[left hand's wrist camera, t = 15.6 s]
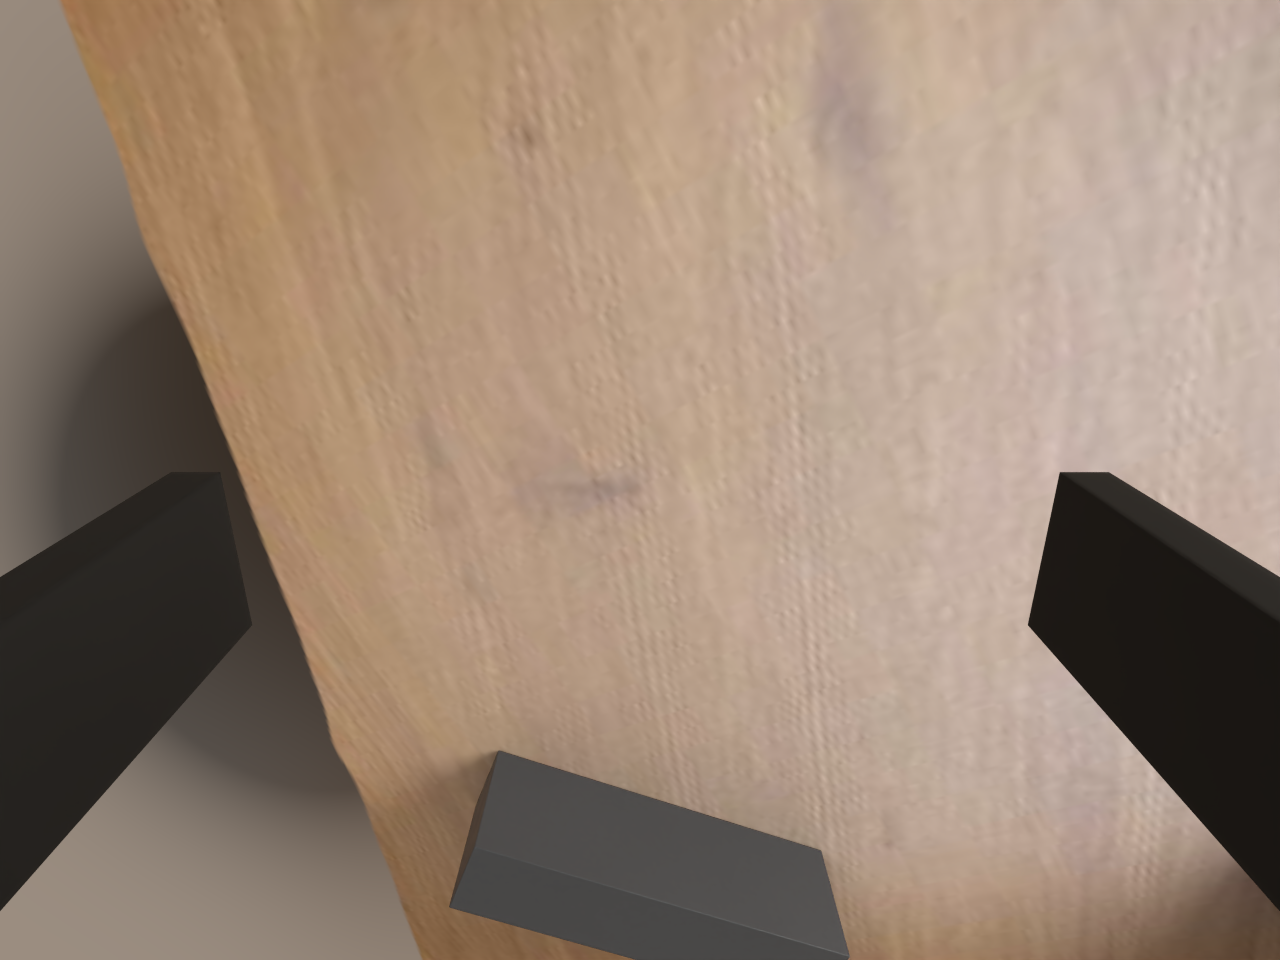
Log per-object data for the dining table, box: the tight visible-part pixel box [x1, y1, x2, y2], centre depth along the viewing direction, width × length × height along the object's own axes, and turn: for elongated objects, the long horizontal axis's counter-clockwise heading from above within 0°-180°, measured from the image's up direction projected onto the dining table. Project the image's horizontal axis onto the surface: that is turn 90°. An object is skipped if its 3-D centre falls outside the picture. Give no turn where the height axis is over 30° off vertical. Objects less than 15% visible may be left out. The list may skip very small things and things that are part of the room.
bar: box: [449, 751, 850, 960], centre depth 50 cm, size 24×5×8 cm, turn 68°
